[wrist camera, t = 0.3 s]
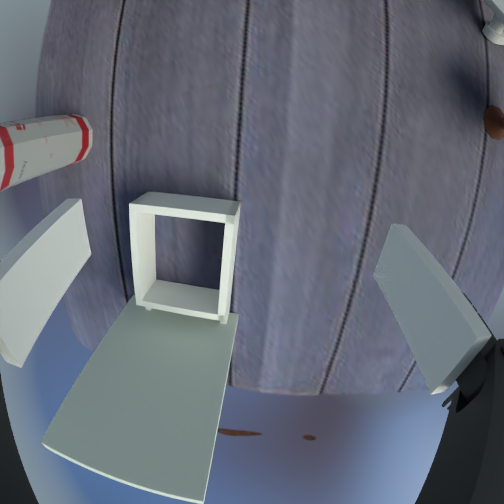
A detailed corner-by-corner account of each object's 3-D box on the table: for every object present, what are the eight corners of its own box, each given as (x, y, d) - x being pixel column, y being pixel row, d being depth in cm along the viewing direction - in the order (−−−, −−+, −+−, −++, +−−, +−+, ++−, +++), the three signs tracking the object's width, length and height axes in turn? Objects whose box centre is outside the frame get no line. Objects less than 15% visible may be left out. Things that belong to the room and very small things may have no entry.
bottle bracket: (126, 189, 38) (-45, 308, 11) (252, 203, 38) (197, 408, 10) (134, 302, 46) (46, 447, 19) (237, 321, 46) (203, 504, 19)
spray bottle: (62, 169, 37) (-65, 227, 14) (52, 126, 34) (-79, 161, 11) (98, 152, 36) (-45, 206, 13) (87, 106, 33) (-59, 126, 10)
